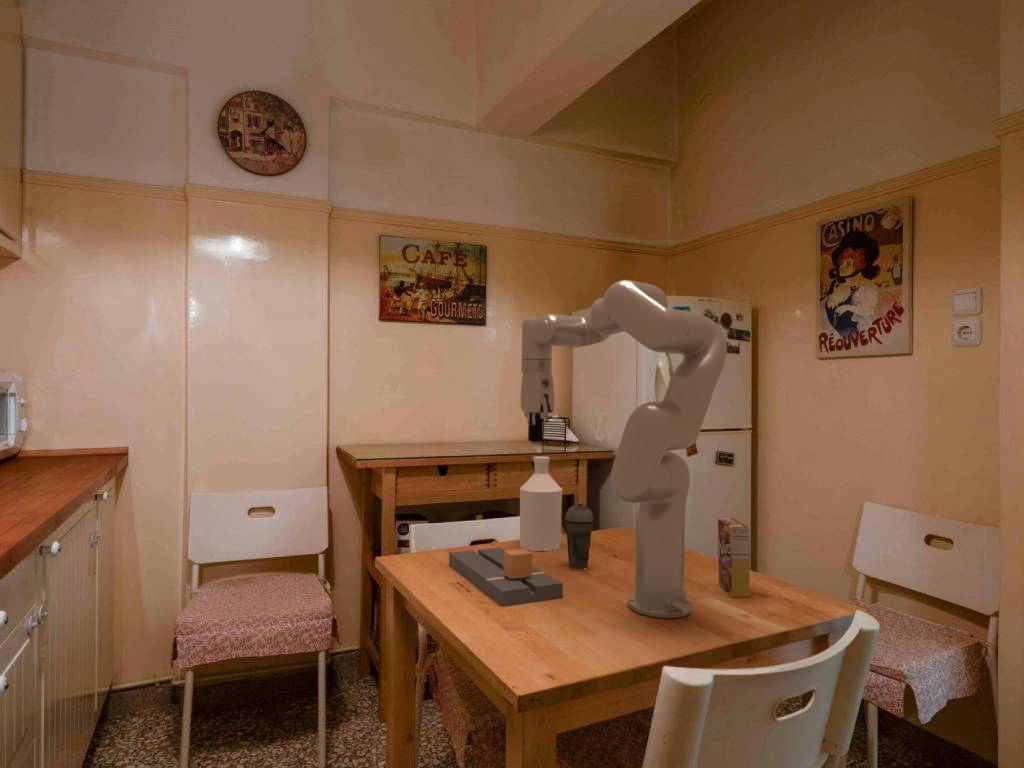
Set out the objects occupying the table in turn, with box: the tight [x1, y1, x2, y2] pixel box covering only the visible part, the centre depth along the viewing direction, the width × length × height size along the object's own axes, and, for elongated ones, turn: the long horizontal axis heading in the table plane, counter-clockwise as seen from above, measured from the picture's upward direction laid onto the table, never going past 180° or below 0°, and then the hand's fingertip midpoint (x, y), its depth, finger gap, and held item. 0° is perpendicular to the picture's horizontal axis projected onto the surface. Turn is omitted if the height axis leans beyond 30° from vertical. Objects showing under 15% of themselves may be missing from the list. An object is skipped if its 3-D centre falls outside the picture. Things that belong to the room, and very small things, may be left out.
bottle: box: [519, 456, 563, 552], centre depth 171 cm, size 12×12×25 cm
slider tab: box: [503, 548, 533, 583], centre depth 133 cm, size 4×5×7 cm
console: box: [448, 546, 564, 607], centre depth 140 cm, size 32×14×3 cm, turn 25°
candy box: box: [717, 517, 751, 599], centre depth 135 cm, size 9×4×15 cm, turn 0°
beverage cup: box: [564, 485, 595, 570], centre depth 152 cm, size 7×7×20 cm
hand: (535, 440), depth 152 cm, fingers closed
